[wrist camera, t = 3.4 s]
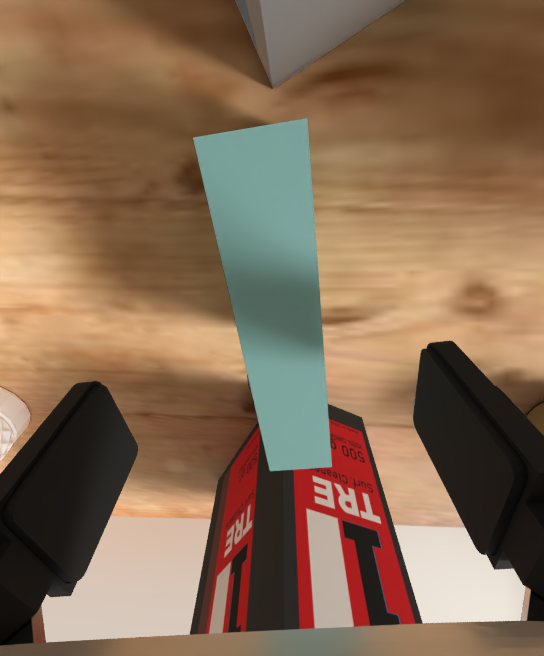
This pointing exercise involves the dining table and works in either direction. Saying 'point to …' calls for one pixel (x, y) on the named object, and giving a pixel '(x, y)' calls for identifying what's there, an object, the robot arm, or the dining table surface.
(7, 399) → the white cup
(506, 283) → the dining table surface
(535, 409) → the squeeze bottle
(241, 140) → the cabinet door
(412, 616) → the cleaning product box
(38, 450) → the robot arm
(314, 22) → the cabinet
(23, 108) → the dining table surface
